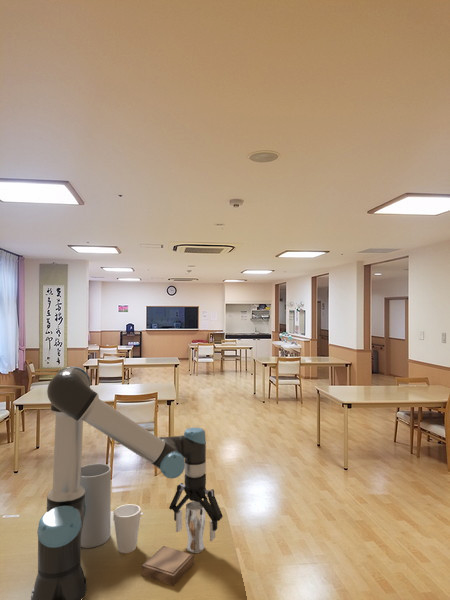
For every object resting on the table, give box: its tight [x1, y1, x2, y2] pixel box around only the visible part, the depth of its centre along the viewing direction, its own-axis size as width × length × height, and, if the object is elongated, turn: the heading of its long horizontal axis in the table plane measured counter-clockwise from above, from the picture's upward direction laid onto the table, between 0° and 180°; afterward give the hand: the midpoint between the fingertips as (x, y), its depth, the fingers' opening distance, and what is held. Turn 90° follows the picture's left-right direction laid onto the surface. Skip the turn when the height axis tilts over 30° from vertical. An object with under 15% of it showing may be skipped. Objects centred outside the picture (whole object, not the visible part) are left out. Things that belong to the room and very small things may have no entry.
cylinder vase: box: [81, 463, 112, 549], centre depth 150 cm, size 12×12×25 cm
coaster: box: [141, 545, 195, 587], centre depth 132 cm, size 12×12×3 cm
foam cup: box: [113, 503, 142, 554], centre depth 144 cm, size 10×9×13 cm
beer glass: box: [184, 501, 206, 554], centre depth 144 cm, size 7×7×15 cm
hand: (195, 534), depth 144 cm, fingers open, 13 cm apart
